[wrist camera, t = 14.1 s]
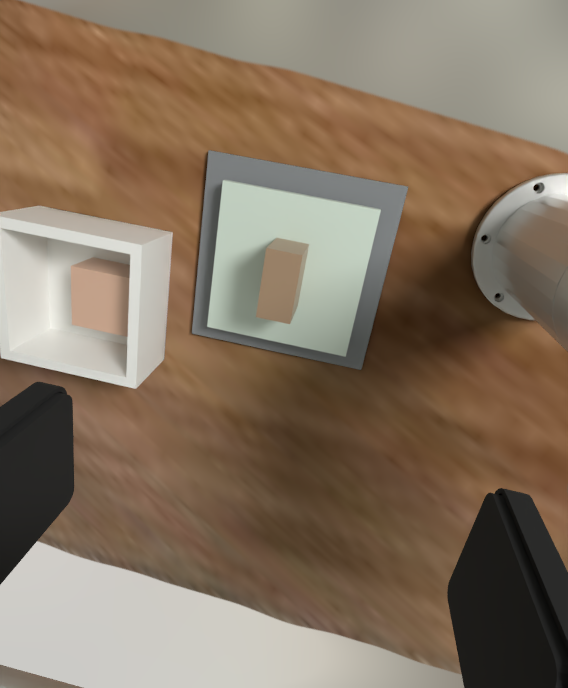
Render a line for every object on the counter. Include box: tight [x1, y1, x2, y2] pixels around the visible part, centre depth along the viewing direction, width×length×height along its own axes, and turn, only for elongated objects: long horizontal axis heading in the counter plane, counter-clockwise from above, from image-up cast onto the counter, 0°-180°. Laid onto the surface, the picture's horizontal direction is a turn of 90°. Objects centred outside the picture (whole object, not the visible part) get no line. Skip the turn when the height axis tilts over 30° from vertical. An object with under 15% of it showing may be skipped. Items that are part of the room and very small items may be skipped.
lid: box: [207, 180, 381, 357], centre depth 42 cm, size 14×14×7 cm
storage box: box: [0, 206, 173, 389], centre depth 46 cm, size 14×14×7 cm
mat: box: [192, 150, 408, 370], centre depth 45 cm, size 18×18×1 cm
